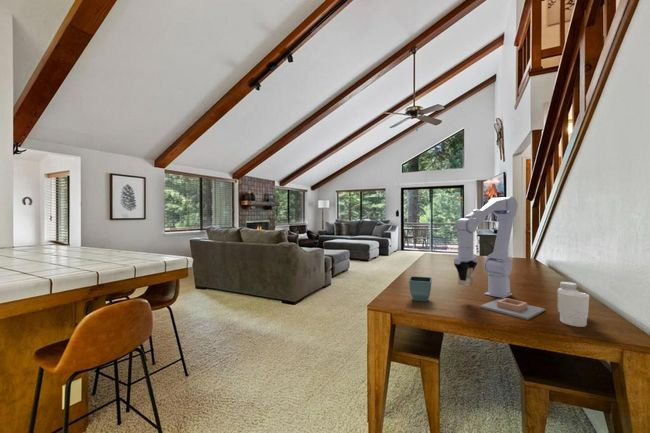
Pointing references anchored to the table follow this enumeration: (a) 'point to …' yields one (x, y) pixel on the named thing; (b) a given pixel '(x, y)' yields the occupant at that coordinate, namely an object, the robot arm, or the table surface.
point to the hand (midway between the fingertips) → (465, 279)
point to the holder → (513, 308)
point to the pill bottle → (566, 286)
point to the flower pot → (420, 288)
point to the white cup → (573, 307)
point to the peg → (467, 278)
